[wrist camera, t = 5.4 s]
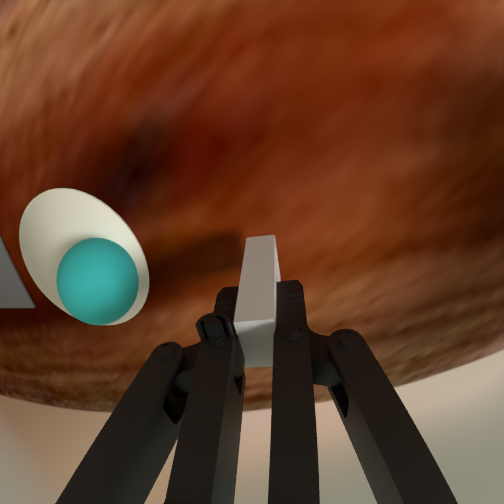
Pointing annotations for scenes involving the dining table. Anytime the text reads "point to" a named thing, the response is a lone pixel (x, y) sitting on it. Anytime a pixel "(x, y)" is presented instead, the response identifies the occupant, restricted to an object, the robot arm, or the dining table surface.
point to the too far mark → (11, 284)
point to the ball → (97, 281)
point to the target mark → (73, 238)
